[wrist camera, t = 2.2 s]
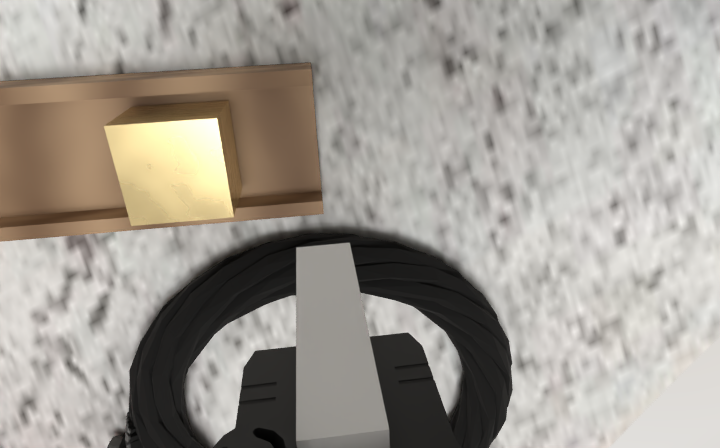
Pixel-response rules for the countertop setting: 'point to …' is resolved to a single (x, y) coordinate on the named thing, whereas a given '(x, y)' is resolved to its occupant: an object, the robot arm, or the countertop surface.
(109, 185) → the rail
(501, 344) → the cable lock
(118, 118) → the block
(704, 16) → the countertop surface
